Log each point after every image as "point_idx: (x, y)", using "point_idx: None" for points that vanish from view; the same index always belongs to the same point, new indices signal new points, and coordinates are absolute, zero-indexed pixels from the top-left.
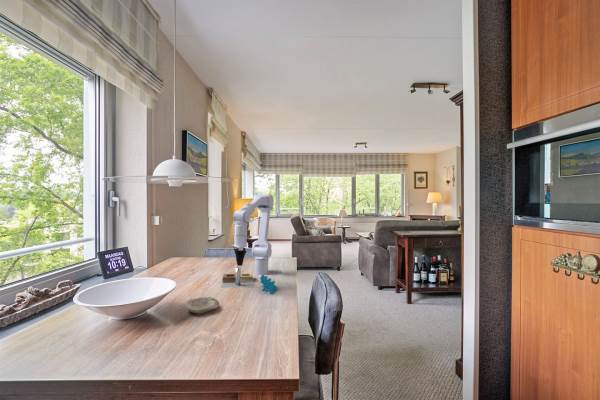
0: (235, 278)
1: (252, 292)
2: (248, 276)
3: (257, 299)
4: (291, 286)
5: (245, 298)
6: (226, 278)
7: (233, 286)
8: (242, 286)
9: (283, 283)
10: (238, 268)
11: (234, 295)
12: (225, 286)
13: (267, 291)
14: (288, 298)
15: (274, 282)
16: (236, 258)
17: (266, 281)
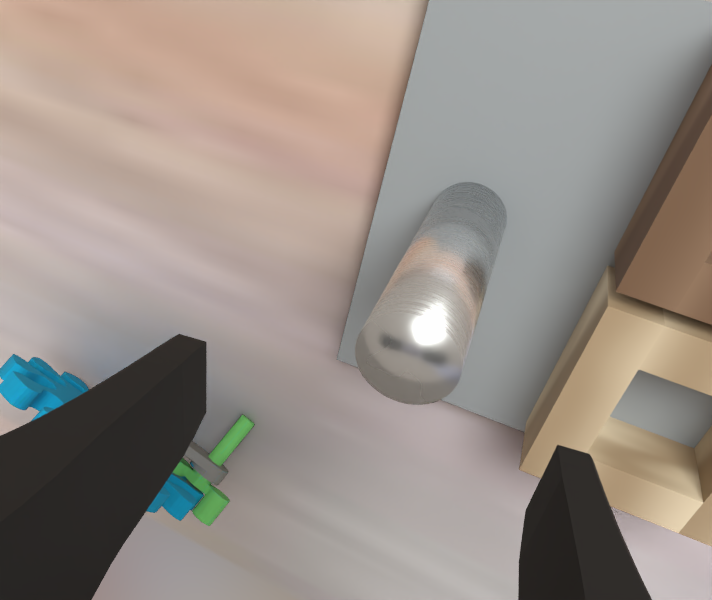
0: (629, 255)
1: (196, 272)
2: (559, 433)
3: (2, 234)
4: (279, 586)
5: (31, 145)
6: (709, 104)
7: (417, 136)
8: (369, 243)
9: (385, 596)
10: (362, 349)
11: (133, 60)
12: (467, 16)
13: (37, 359)
14: (17, 427)
15: (195, 509)
16: (39, 418)
17: None
